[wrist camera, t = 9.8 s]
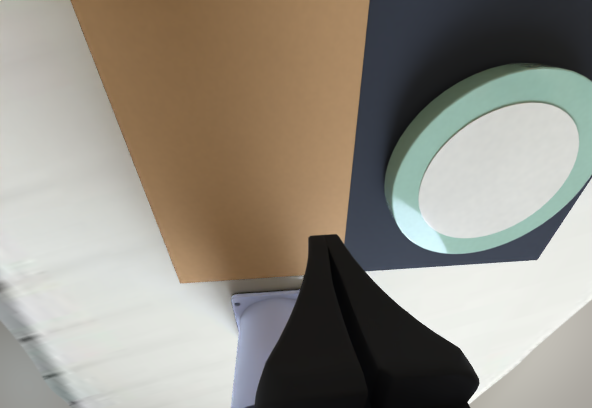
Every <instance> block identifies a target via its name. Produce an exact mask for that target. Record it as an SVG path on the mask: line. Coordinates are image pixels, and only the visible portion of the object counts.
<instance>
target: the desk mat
mask: <svg viewBox="0 0 592 408" xmlns="http://www.w3.org/2000/svg"><path fill="white" fill-rule="evenodd" d="M71 3H72V5H73V8H74V11H75V13H76V16H77V18H78V21H79V23H80V26H81V29H82V31H83V34H84V36H85V39H86V42H87V44H88V47H89V49H90V52H91V54H92V57H93V60H94V62H95V65H96V67H97V70H98V72H99V75H100V78H101V80H102V83H103V85H104V88H105V90H106V93H107V96H108V98H109V101H110V103H111V106H112V108H113V111H114V114H115V116H116V119H117V121H118V124H119V126H120V129H121V132H122V134H123V137H124V139H125V142H126V144H127V147H128V150H129V152H130V155H131V157H132V160H133V163H134V165H135V168H136V170H137V173H138V175H139V178H140V181H141V183H142V186H143V188H144V191H145V193H146V196H147V199H148V201H149V204H150V206H151V209H152V211H153V214H154V217H155V219H156V222H157V224H158V227H159V229H160V232H161V235H162V237H163V240H164V242H165V245H166V247H167V250H168V253H169V255H170V258H171V260H172V263H173V265H174V268H175V271H176V273H177V276H178V278H179V281H180V283H193V282H209V281H224V280H239V279H254V278H269V277H285V276H300V275H305V271H306V266H307V260H308V237H310V236H313V235H330V234H337V235H338V236H339V237H340V239H341V240H342V242H343V243H344V245H345V246H346V248H347V249H348V251H349V252H350V253H351V255H352V256H353V257H354V259H355V260H356V261H357V262H358V264H359V265H360V266H361V267H362V269H363V270H364V271H376V270H391V269H406V268H421V267H436V266H452V265H467V264H482V263H497V262H512V261H528V260H537V259H538V258H539V256H540V255H541V253H542V252H543V250H544V249H545V247H546V246H547V244H548V243H549V241H550V240H551V238H552V237H553V235H554V234H555V232H556V231H557V229H558V228H559V226H560V225H561V223H562V222H563V220H564V219H565V217H566V216H567V214H568V213H569V211H570V210H571V208H572V207H573V205H574V204H575V202H576V201H577V199H578V198H579V196H580V195H581V193H582V192H583V190H584V189H585V187H586V186H587V184H588V183H589V181H590V180H591V178H592V175H591V176H590V178H589V179H588V181H587V182H586V183H585V185H584V186H583V187H582V188H581V190H580V191H579V192H578V193H577V194H576V195H575V196H574V198H573V199H572V200H571V201H569V202H568V203H567V204H566V205H565V206H564V207H563V208H562V209H561V210H560V211H559V212H557V213H556V214H555V215H554V216H553V217H551V218H550V219H548V220H547V221H546V222H544V223H543V224H542V225H540V226H538V227H537V228H535V229H534V230H532V231H530V232H528V233H527V234H525V235H523V236H521V237H519V238H517V239H515V240H513V241H510V242H508V243H506V244H503V245H500V246H497V247H494V248H491V249H487V250H484V251H478V252H473V253H465V254H446V253H438V252H434V251H430V250H427V249H424V248H422V247H420V246H418V245H416V244H414V243H413V242H412V241H410V240H409V239H408V238H407V237H406V236H405V235H404V234H403V233H402V232H401V230H400V229H399V227H398V225H397V224H396V222H395V220H394V219H393V217H392V215H391V213H390V211H389V209H388V206H387V203H386V199H385V188H384V184H385V175H386V170H387V166H388V162H389V160H390V157H391V155H392V152H393V150H394V148H395V146H396V144H397V142H398V141H399V139H400V137H401V136H402V134H403V133H404V131H405V130H406V128H407V127H408V125H409V124H410V123H411V122H412V121H413V120H414V118H415V117H416V116H417V115H418V114H419V113H420V112H421V111H422V110H423V109H424V108H425V107H426V106H427V105H428V104H429V103H430V102H431V101H433V100H434V99H435V98H436V97H438V96H439V95H440V94H442V93H443V92H444V91H446V90H447V89H449V88H450V87H452V86H454V85H455V84H457V83H458V82H460V81H462V80H464V79H466V78H468V77H470V76H472V75H474V74H477V73H479V72H482V71H485V70H487V69H490V68H494V67H498V66H502V65H506V64H515V63H538V64H543V65H548V66H553V67H558V68H563V69H568V70H572V71H575V72H577V73H579V74H581V75H584V76H585V77H587V78H588V79H589V80H591V81H592V0H71Z"/></svg>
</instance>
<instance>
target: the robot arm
mask: <svg viewBox="0 0 592 408" xmlns="http://www.w3.org/2000/svg"><path fill="white" fill-rule="evenodd" d="M231 302H232V306H233V310H234V314H235V319H236V323H237V327H238V331H239V337H238V346H237V356H236V365H235V374H234V383H233V392H232V402H231V408H470V407H469V405H468V403H467V402H468V400H469V399H470V398H471V397H472V395H473V394H474V393H475V391H476V390H477V388H478V386H479V378H478V376H477V375H476V373H475V371H474V369H473V367H472V366H471V364H470V363H469V361H468V359H467V358H466V357H465V355H464V354H463V352H462V351H461V349H460V348H458V347H457V346H455V345H454V344H452V343H451V342H449V341H447V340H446V339H444V338H443V337H441V336H439V335H438V334H436V333H435V332H433V331H432V330H430V329H429V328H428V327H426V326H425V325H423V324H422V323H421V322H419V321H418V320H417V319H415V318H414V317H413V316H412V315H410V314H409V313H408V312H407V311H405V310H404V309H403V308H402V307H400V306H399V305H398V304H397V303H396V302H395V301H394V300H392V299H391V298H390V297H389V296H388V295H387V294H386V293H385V292H384V291H383V290H382V289H381V288H380V287H379V286H378V285H377V284H376V283H375V282H374V281H373V280H372V279H371V278H370V277H369V275H368V274H367V273H366V272H365V271H364V270H363V269H362V267H361V266H360V265H359V264H358V262H357V261H356V260H355V259H354V257H353V256H352V255H351V253H350V252H349V251H348V249H347V248H346V246H345V245H344V243H343V242H342V240H341V239H340V237H339V236H338V235H337V234H330V235H313V236H310V237H308V260H307V266H306V271H305V275H304V278H303V282H302V286H301V289H300V290H291V291H276V292H262V293H247V294H235V295H233V296H232V298H231Z"/></svg>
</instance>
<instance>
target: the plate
mask: <svg viewBox="0 0 592 408" xmlns="http://www.w3.org/2000/svg"><path fill="white" fill-rule="evenodd" d="M591 175H592V81H591V80H589V79H588V78H587V77H585V76H584V75H581V74H579V73H577V72H575V71H572V70H568V69H563V68H558V67H553V66H548V65H543V64H538V63H515V64H506V65H502V66H498V67H494V68H490V69H487V70H485V71H482V72H479V73H477V74H474V75H472V76H470V77H468V78H466V79H464V80H462V81H460V82H458V83H457V84H455V85H454V86H452V87H450V88H449V89H447V90H446V91H444V92H443V93H442V94H440V95H439V96H438V97H436V98H435V99H434V100H433V101H431V102H430V103H429V104H428V105H427V106H426V107H425V108H424V109H423V110H422V111H421V112H420V113H419V114H418V115H417V116H416V117H415V118H414V120H413V121H412V122H411V123H410V124H409V125H408V127H407V128H406V130H405V131H404V133H403V134H402V136H401V137H400V139H399V141H398V142H397V144H396V146H395V148H394V150H393V152H392V155H391V157H390V160H389V162H388V166H387V170H386V175H385V184H384V188H385V199H386V203H387V206H388V209H389V211H390V213H391V215H392V217H393V219H394V220H395V222H396V224H397V225H398V227H399V229H400V230H401V232H402V233H403V234H404V235H405V236H406V237H407V238H408V239H409V240H410V241H412V242H413V243H414V244H416V245H418V246H420V247H422V248H424V249H427V250H430V251H434V252H438V253H446V254H465V253H473V252H478V251H484V250H487V249H491V248H494V247H497V246H500V245H503V244H506V243H508V242H510V241H513V240H515V239H517V238H519V237H521V236H523V235H525V234H527V233H528V232H530V231H532V230H534V229H535V228H537V227H538V226H540V225H542V224H543V223H544V222H546V221H547V220H548V219H550V218H551V217H553V216H554V215H555V214H556V213H557V212H559V211H560V210H561V209H562V208H563V207H564V206H565V205H566V204H567V203H568V202H569V201H571V200H572V199H573V198H574V196H575V195H576V194H577V193H578V192H579V191H580V190H581V188H582V187H583V186H584V185H585V183H586V182H587V181H588V179H589V178H590V176H591Z"/></svg>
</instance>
